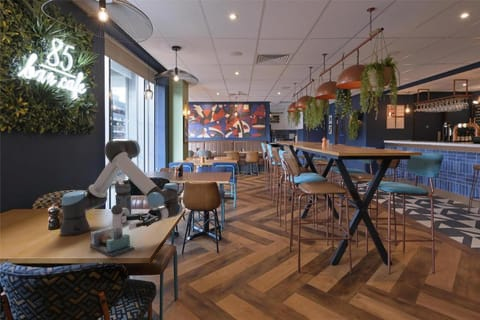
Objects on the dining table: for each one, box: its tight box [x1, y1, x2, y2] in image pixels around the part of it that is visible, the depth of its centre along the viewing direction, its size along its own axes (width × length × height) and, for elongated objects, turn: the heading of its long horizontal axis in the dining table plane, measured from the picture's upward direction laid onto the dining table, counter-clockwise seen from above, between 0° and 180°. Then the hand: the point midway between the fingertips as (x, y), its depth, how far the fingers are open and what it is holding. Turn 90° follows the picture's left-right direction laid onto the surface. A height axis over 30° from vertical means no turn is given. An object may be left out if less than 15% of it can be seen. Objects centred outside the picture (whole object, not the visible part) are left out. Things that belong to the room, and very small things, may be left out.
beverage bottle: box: [114, 179, 132, 217], centre depth 195 cm, size 10×13×25 cm
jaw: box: [106, 204, 131, 252], centre depth 129 cm, size 5×10×21 cm, turn 144°
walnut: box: [102, 234, 111, 243], centre depth 136 cm, size 4×4×4 cm
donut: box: [122, 208, 130, 224], centre depth 174 cm, size 10×4×10 cm, turn 160°
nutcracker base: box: [89, 226, 135, 259], centre depth 133 cm, size 22×11×8 cm, turn 54°
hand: (121, 224), depth 130 cm, fingers open, 13 cm apart
